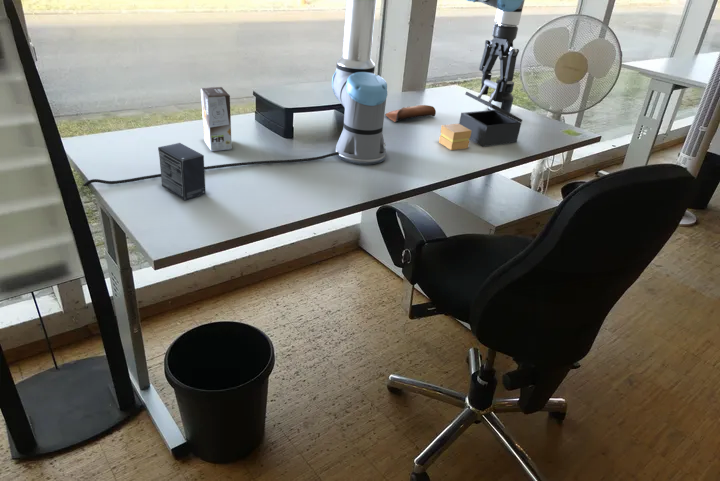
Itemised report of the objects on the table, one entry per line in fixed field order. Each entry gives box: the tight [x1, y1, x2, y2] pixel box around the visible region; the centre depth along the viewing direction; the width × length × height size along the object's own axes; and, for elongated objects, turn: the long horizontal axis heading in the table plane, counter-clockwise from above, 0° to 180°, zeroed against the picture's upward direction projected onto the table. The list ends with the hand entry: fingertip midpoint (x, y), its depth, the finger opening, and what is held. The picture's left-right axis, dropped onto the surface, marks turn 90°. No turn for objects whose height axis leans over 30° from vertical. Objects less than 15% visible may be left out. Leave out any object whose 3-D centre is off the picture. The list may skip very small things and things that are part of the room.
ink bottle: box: [487, 78, 515, 115], centre depth 215 cm, size 10×9×12 cm
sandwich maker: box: [458, 109, 522, 147], centre depth 189 cm, size 15×14×7 cm
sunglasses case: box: [384, 104, 437, 123], centre depth 201 cm, size 18×7×7 cm
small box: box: [157, 142, 207, 201], centre depth 134 cm, size 11×6×10 cm, turn 48°
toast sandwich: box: [438, 123, 471, 151], centre depth 180 cm, size 7×7×6 cm
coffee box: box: [200, 86, 233, 152], centre depth 160 cm, size 9×6×16 cm
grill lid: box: [464, 79, 523, 123], centre depth 185 cm, size 16×14×8 cm
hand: (490, 97), depth 183 cm, fingers closed on grill lid, 6 cm apart
